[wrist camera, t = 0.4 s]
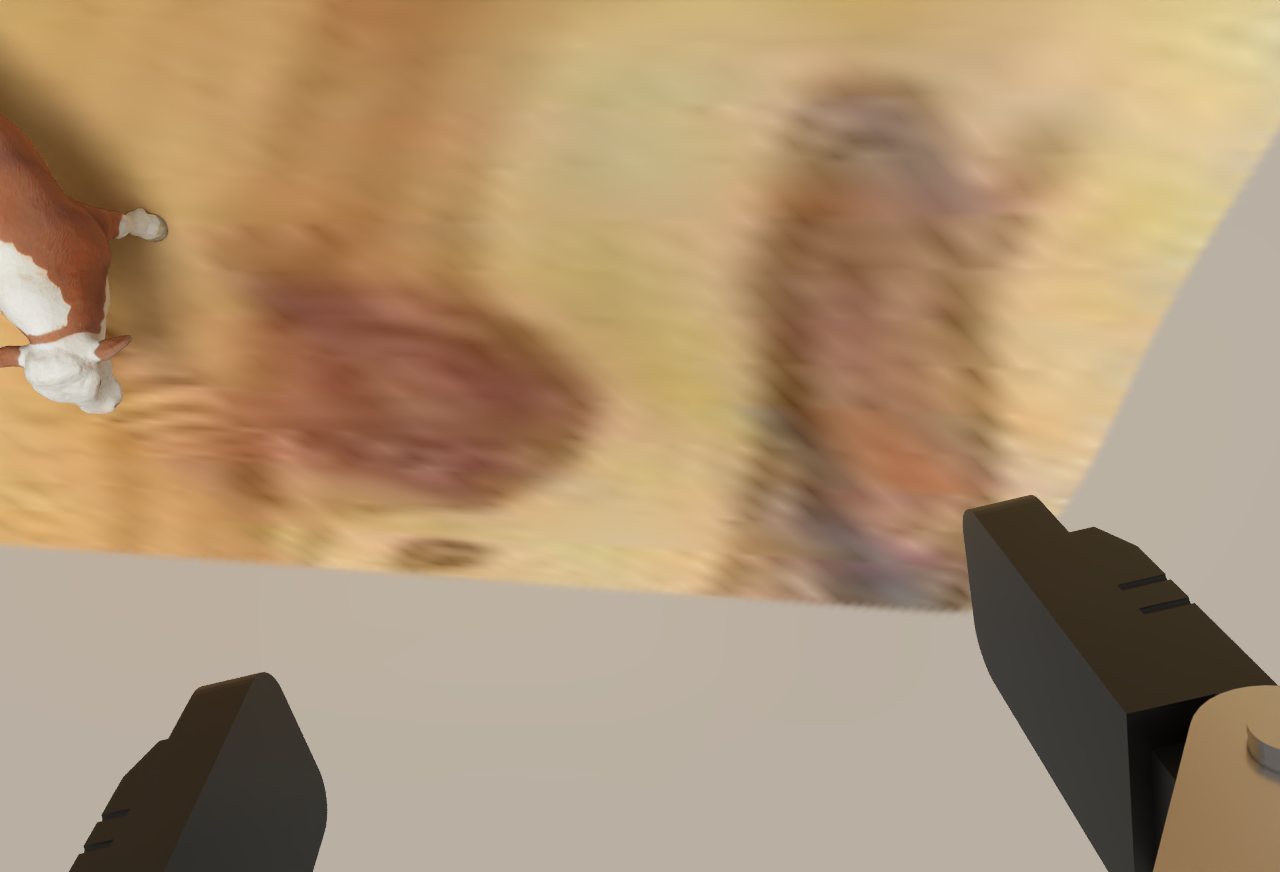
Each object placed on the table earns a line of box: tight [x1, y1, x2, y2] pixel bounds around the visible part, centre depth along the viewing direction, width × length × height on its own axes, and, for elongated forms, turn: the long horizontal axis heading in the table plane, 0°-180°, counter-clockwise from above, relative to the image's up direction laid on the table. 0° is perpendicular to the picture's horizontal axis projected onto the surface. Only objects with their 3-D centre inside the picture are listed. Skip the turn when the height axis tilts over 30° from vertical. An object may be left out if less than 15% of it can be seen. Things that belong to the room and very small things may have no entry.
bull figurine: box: [0, 114, 168, 414], centre depth 32 cm, size 4×13×8 cm, turn 32°
